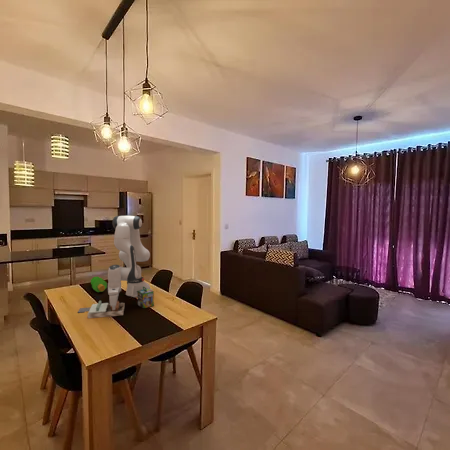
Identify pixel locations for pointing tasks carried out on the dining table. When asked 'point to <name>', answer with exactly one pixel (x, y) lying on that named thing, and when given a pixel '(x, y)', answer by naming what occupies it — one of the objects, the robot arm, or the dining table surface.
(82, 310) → the slate tile
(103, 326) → the dining table surface
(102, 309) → the sliding lid panel
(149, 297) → the chalk box
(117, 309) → the terracotta knob
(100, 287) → the decorative tree
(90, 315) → the sliding lid box
